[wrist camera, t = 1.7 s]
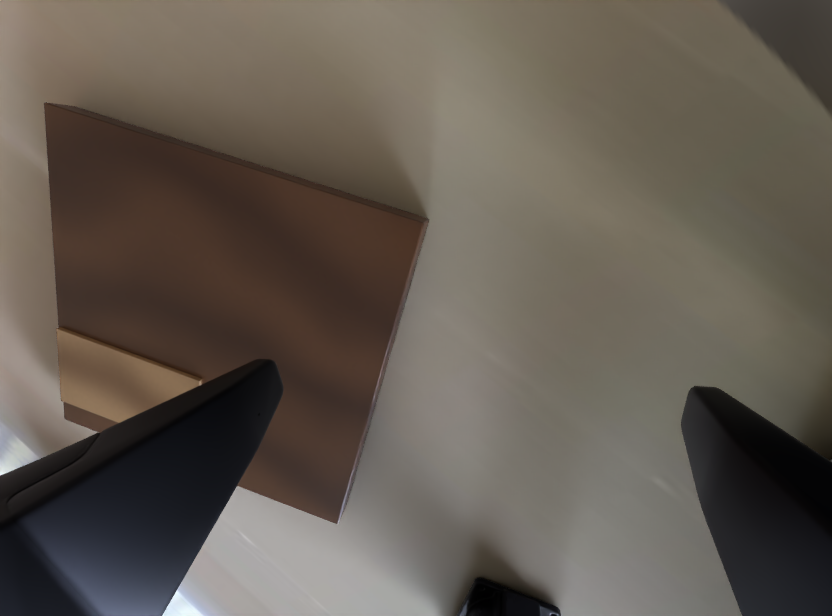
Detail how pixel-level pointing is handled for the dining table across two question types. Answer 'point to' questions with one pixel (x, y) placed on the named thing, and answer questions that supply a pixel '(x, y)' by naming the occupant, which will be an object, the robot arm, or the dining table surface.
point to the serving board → (223, 293)
